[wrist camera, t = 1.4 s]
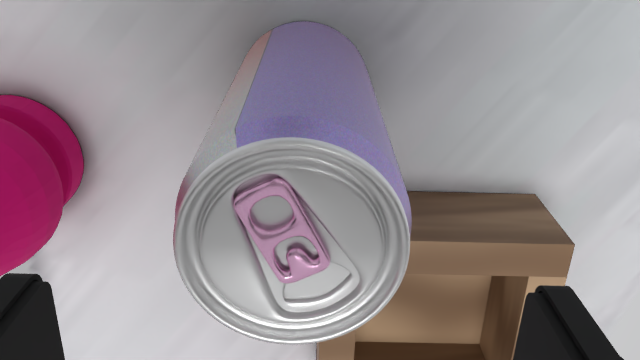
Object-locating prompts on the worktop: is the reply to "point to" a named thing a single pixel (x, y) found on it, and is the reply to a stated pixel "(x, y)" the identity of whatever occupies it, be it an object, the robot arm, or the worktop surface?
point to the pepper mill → (33, 176)
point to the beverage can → (295, 195)
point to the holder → (463, 280)
